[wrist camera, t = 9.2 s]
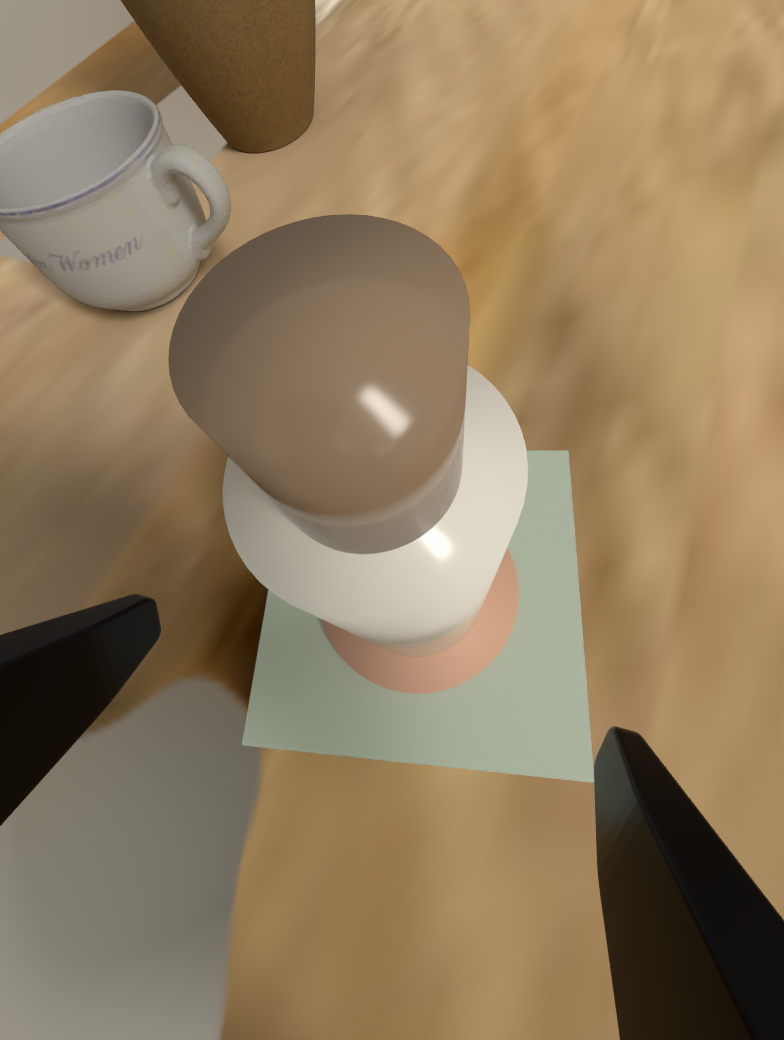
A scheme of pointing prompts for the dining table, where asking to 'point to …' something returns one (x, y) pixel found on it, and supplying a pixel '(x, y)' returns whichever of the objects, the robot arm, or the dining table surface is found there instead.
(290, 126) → the plant pot
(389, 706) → the stacking base
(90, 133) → the teacup
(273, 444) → the cosmetic bottle
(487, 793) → the dining table surface
